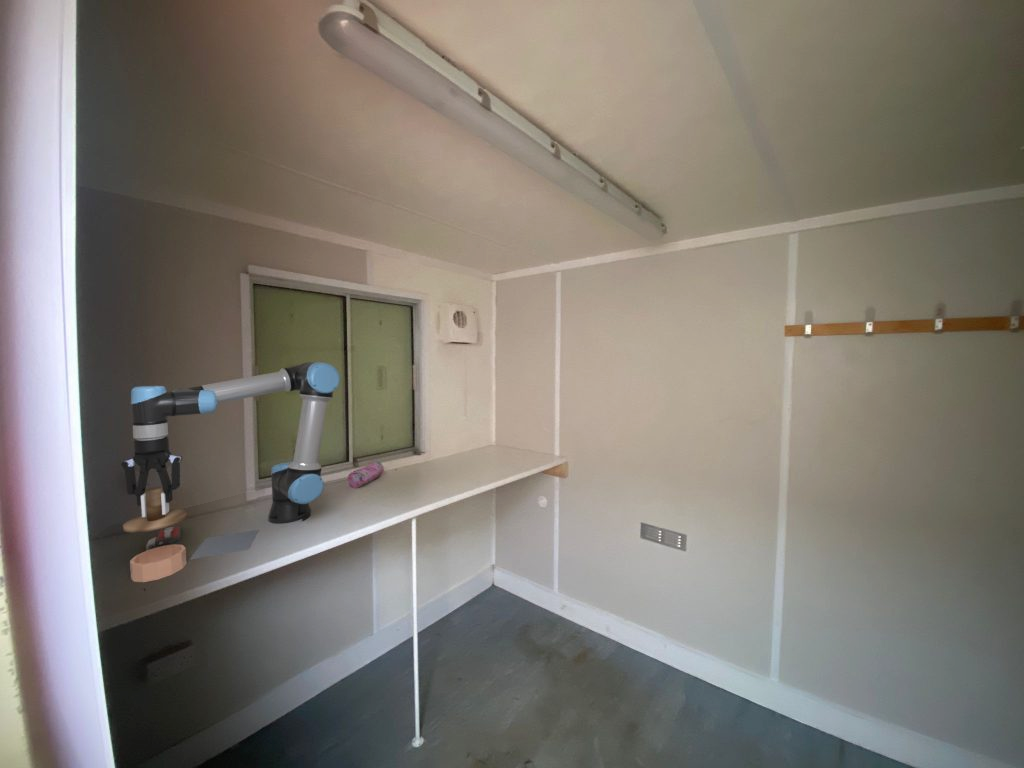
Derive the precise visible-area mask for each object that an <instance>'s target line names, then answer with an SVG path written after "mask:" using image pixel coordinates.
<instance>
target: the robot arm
mask: <svg viewBox="0 0 1024 768" xmlns="http://www.w3.org/2000/svg"><path fill="white" fill-rule="evenodd" d="M340 382H341V376H340V373H339V371H338V370H337V368H336V367H335V366H334V365H331V364H330V363H326V362H322V361H321V362H320V361H317V362H316V361H314V362H303V363H299V364H296V365H292V366H288V367H284V368H280V370H279V371H275V372H270V373H263V374H258V375H253V376H247V377H242V378H237V379H236V378H235V379H230V380H226V381H225V380H224V381H219V382H213V383H209V384H208V383H207V384H202V385H197V386H191V387H181V388H176V389H175V390H172V391H167V390H166V387H165V386H164V385H149V386H148V385H141V386H135V387H133V388H132V389H131V391H130V408H131V418H132V419H131V420H132V438H133V439H135V440H133V449H134V450H133V452H134V455H133V457H132V458H131V459H126V460H125V461H122V462H121V464H120V465H121V467H122V468H123V470H124V475H125V483H126V484H125V486H126V491H127V494H128V495H135V496H136V503H137V504H136V505H137V506H138V507H141V515H142V517H146V516H147V511H146V495H145V490H147V489H146V487H147V484H148V479H149V478H148V477H149V473H150V470H151V469H152V470H155V471H156V472H157V474H158V477H159V479H160V483H161V485H162V486H161V487H163V489H164V492H163V493H161V502H162V515H165V514H167V513H168V512H169V509H170V503H171V502H172V501H173V499H174V498H173V491H175V490H177V489H178V488H179V487H181V463H182V460H183V456H182V455H178V456H177V455H173V454H172V453H171V451H170V443H169V441H170V440H169V437H168V435H169V428H168V427H169V424H168V417H175V416H189V415H204V414H211V413H212V414H213V413H214V412H215V411H216V410H217V406H218V405H219V404H223V403H228V402H234V401H238V400H244V399H248V398H252V397H253V398H254V397H258V396H262V395H268V394H272V393H276V392H281V391H282V392H283V391H285V392H287V393H288V392H289V393H290V392H294V391H299V396H300V397H301V399H302V403H301V404H302V405H301V410H300V415H299V416H300V417H299V421H298V422H299V423H298V427H297V428H298V429H297V436H296V442H295V449H294V454H293V461H287V462H281V463H278V464H275V465H273V466H272V467H271V472H270V476H271V478H270V479H271V492H272V493H271V495H272V498H271V499H272V502H271V503H272V504H271V505H270V506H271V507H270V509H269V513H268V517H267V521H268V522H269V523H271V524H277V525H278V524H279V525H282V524H289V523H295V522H298V521H301V522H303V521H305V520H307V519H309V518H310V516H311V514H312V509H311V506H310V503H313V502H314V501H316V500H317V499H318V498H319V497H320V496H321V495H322V493H323V491H324V488H325V482H324V480H323V478H322V476H321V475H322V468H323V467H322V466H321V464H320V463H319V458H320V453H321V445H322V440H323V433H324V426H325V420H326V419H325V418H326V414H327V406H328V402H329V401H331V400H332V399H333V398H334V397H333V396H334V395H333V394H334V391H335V390H336V389H338V387H339V385H340ZM169 460H170V463H171V478H170V476H169V473H168V469H167V465H166V464H167V463H168V461H169ZM135 463H136V464H137V465H138V466H139V467H140V468H139V477H138V481H137V479H136V477H137V476H136V471H135V470H136V469H135V465H136V464H135Z"/></svg>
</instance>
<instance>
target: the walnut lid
mask: <svg viewBox="0 0 1024 768" xmlns="http://www.w3.org/2000/svg"><path fill="white" fill-rule="evenodd" d="M163 492H164V489H163V486H155V487H151V488H148V489H145V492H144V493H145V495H146V511H147V516H146V517H142V514H141V515H138V516H135V517H133V518H131V519H129V520H127V521H126V522H124V523H123V524H122V529H123V532H124V533H125V532H126V533H129V534H131V533H132V534H135V533H146V532H151V531H156V530H161V529H164V528H169V527H172V526H174V525H177V524H179V523H181V522H183V521H184V520H186V519H187V517H188V513H187V512H188V511H187V510H185V509H181V508H174V509H173V508H171V509H170V508H169V512H168V513H167V514H165V515H162V502H161V493H163Z"/></svg>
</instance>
